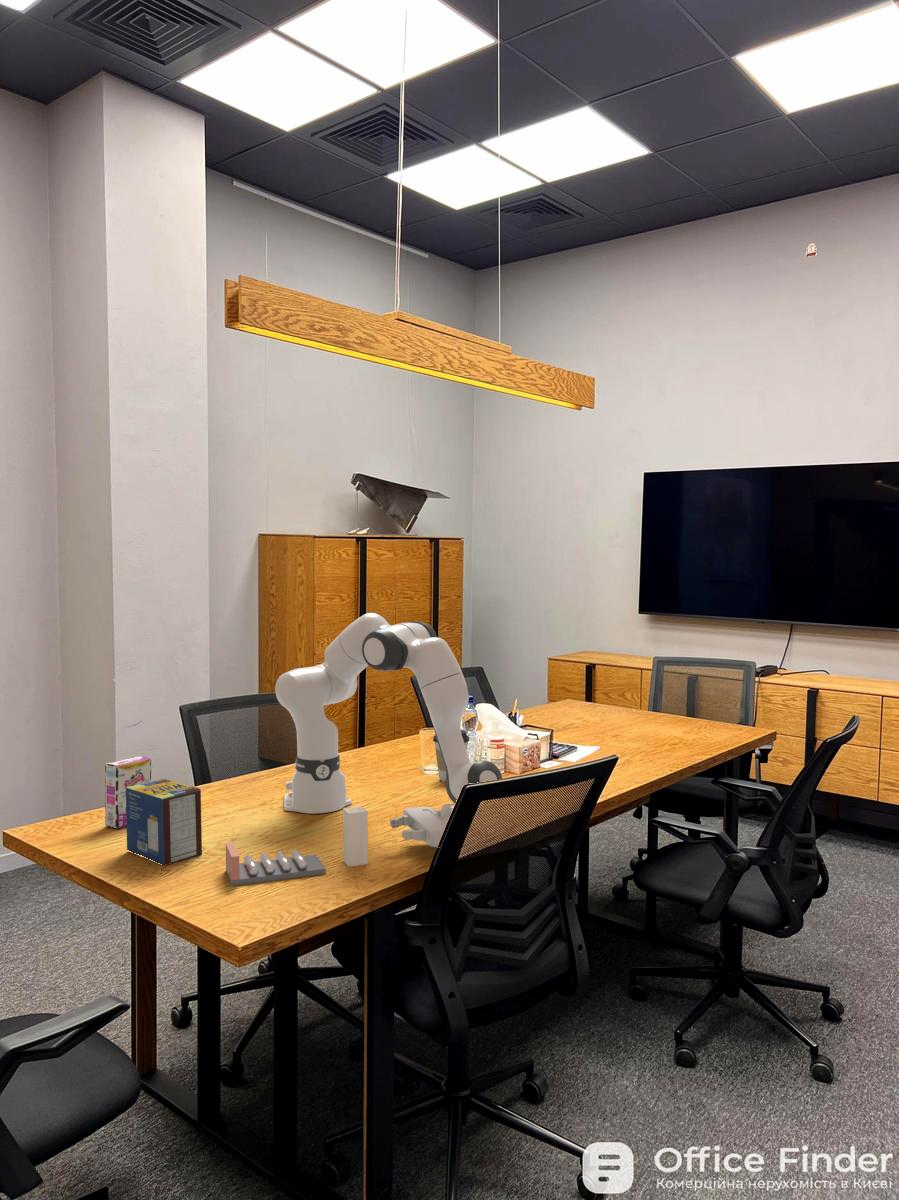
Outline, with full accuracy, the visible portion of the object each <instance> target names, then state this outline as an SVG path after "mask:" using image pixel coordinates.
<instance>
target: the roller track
mask: <svg viewBox="0 0 899 1200" xmlns="http://www.w3.org/2000/svg"><path fill="white" fill-rule="evenodd" d="M290 854H291V857H286V856H285V853H284V852H283V851H282V850H281V851H277V852H276V854H275V858H274V859H270V856H269V855H268V854H267V853H265V852H263V853H262V854H260V856H259V860H258V861H254V859H253V857H252V856H251V855H249V854H248V855H246V856H245V857H244V858H243V861H244V862H242V863H240V854H239V852H238V850H237V848H236V845H235V844H234V841H228V842H225V871H226V874H227V877H228V880H229V883H230V884H231V887H235V886H237V887H238V886H242V885H243V886H245V885H251V884H258V883H265V882H273V881H274V882H275V881H280V880H283V881H284V880H290V879H297V878H298V877H299V878H305V877H304V876H306V877H311V875H314V876H319V874H322V875H326V874H327V870H326V866H324V864H323V862H321V859H320V858H319V857H318V856H317V854H316V853H315V854H308V855H303V854H301V852H300V851H299V849H293V850H292V851H291V853H290ZM299 878H298V879H299Z"/></svg>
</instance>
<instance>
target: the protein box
mask: <svg viewBox="0 0 899 1200" xmlns="http://www.w3.org/2000/svg"><path fill="white" fill-rule="evenodd" d="M126 824H127V826H126V851H127V850H129V851H131V852H133V853H136V854H139V855H142V856H144V857H146V858H148V859H151V860H153V861H155V862H157V863H160V864H162V865H165V864H168V865H170V864H169V863H172V864H174V863H173V862H175V863H177V862H176V861H178V862H180V861H185V860H188V859H190V858H194V857H197V856H200V855H202V854H203V843H202V842H203V841H202V839H203V837H202V831H203V829H202V789H201V788H198V787H195V786H191V785H187V784H183V783H180V782H177V781H172V780H169V779H166V778H162V779H157V780H153V781H152V780H151V782H148V783H143V784H139V785H134V786H129V787H126ZM184 859H185V860H184ZM157 863H156V864H157ZM162 865H161V866H162ZM165 866H166V865H165Z"/></svg>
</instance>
